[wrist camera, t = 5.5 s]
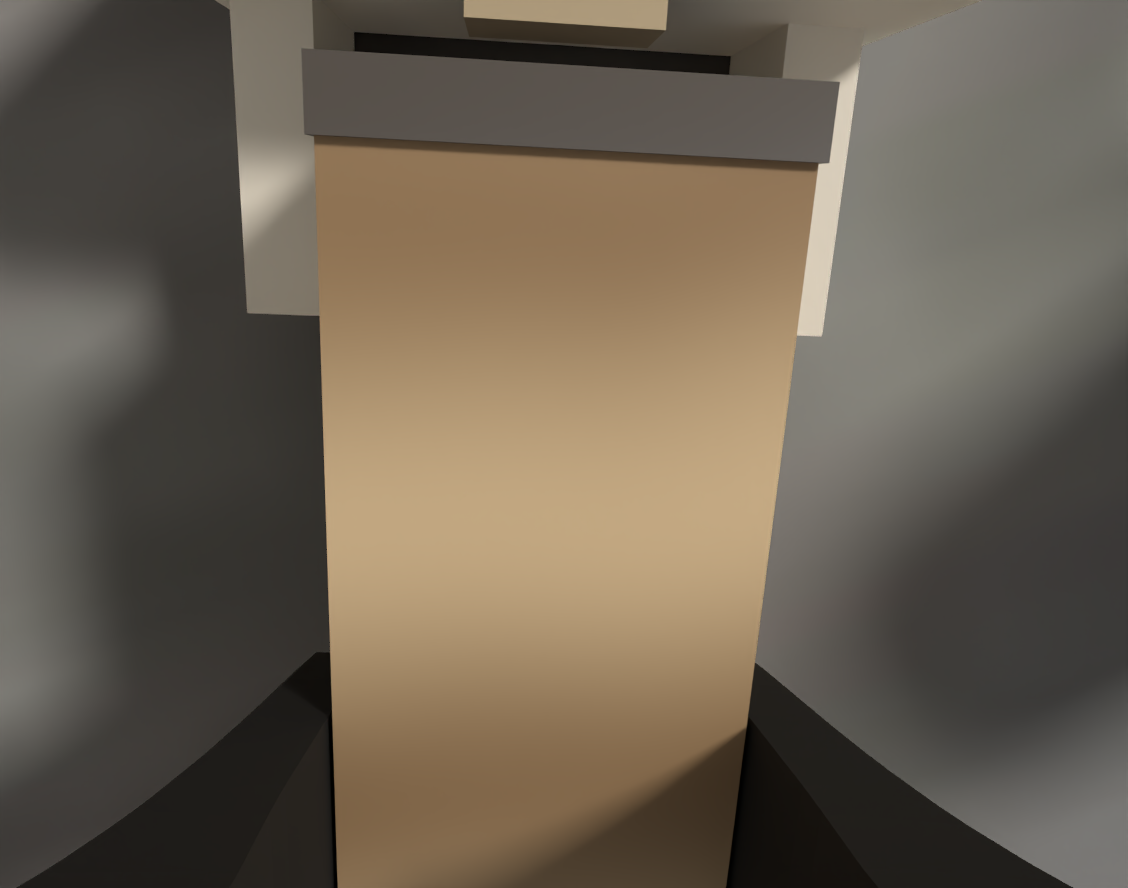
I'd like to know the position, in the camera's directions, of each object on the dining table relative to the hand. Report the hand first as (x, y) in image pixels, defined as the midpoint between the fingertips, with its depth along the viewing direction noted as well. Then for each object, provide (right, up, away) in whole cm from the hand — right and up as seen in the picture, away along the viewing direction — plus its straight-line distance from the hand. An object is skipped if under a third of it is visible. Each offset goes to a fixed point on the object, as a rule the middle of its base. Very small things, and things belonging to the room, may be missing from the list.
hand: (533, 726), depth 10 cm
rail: (0, +1, +3) cm, 3 cm away
